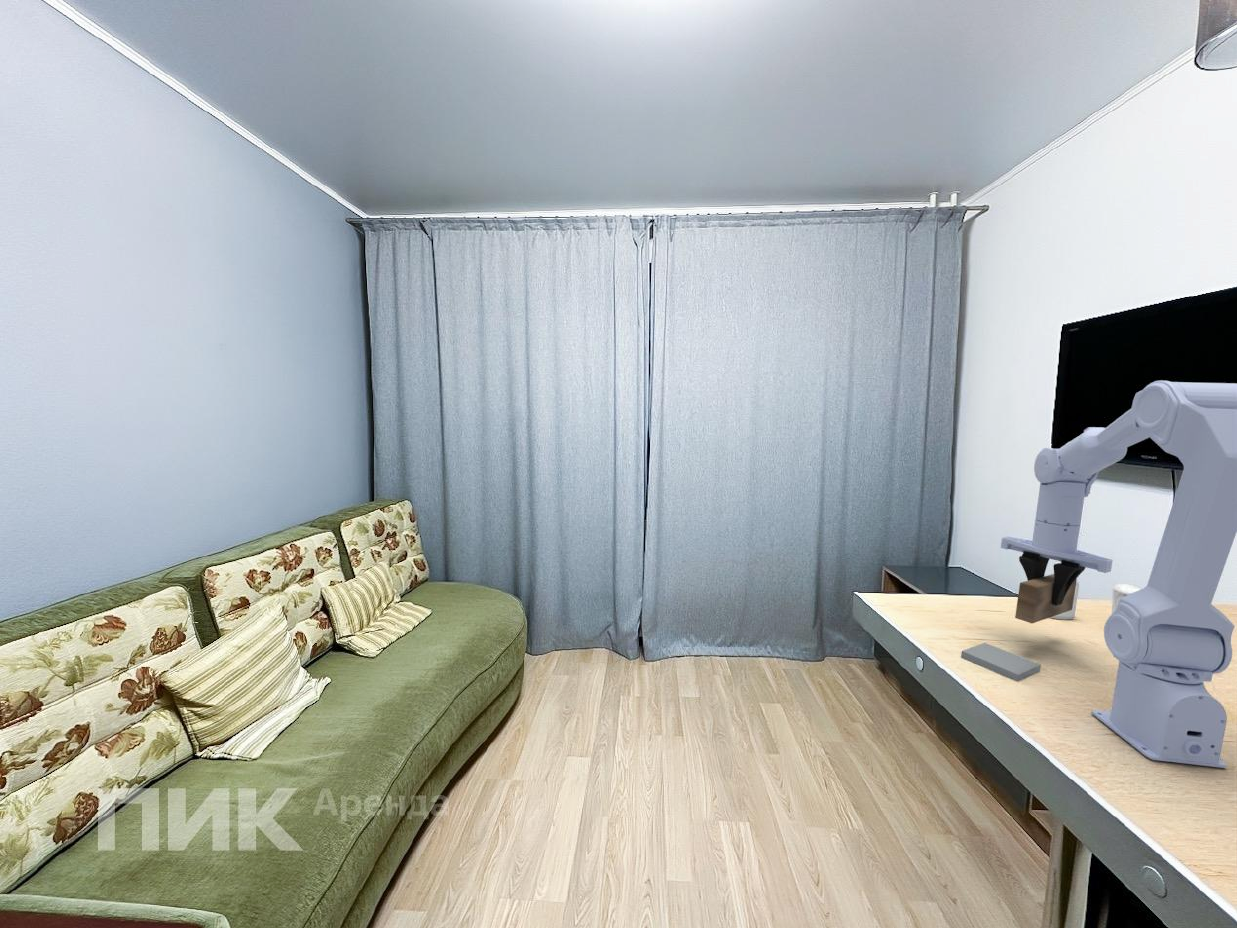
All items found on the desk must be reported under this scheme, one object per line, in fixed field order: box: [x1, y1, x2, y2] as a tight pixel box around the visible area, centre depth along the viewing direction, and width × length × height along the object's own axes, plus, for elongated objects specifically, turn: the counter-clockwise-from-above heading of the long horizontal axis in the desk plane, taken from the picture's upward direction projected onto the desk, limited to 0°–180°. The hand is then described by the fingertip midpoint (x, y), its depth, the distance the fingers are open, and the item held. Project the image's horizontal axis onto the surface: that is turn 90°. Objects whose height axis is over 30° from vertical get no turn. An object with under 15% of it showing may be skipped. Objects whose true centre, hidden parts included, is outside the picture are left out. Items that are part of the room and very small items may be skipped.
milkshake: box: [1111, 583, 1142, 615], centre depth 95 cm, size 4×5×10 cm
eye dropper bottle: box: [1045, 561, 1080, 621], centre depth 102 cm, size 4×6×12 cm
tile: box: [960, 642, 1042, 683], centre depth 83 cm, size 8×2×7 cm
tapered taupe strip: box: [1014, 573, 1078, 624], centre depth 88 cm, size 14×2×6 cm, turn 119°
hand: (1046, 600), depth 88 cm, fingers closed on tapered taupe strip, 2 cm apart
